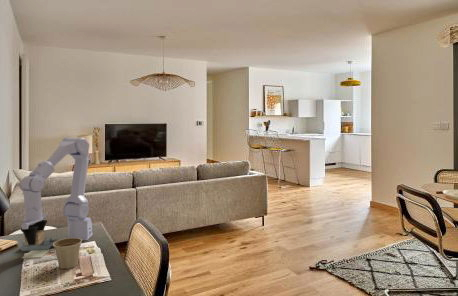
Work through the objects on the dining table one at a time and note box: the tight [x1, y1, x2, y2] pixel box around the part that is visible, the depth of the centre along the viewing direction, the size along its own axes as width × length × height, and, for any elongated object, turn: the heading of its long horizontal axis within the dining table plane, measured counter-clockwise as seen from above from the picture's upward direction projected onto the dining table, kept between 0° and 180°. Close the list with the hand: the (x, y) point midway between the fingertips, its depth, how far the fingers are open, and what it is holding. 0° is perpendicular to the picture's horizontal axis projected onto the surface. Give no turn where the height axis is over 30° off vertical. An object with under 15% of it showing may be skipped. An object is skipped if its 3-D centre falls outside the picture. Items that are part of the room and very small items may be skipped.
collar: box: [24, 229, 46, 245], centre depth 135 cm, size 5×5×4 cm
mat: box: [21, 249, 50, 259], centre depth 135 cm, size 7×7×1 cm
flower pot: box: [52, 237, 83, 270], centre depth 124 cm, size 9×9×9 cm
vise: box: [20, 236, 59, 252], centre depth 143 cm, size 13×7×7 cm, turn 93°
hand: (35, 242), depth 135 cm, fingers closed on collar, 5 cm apart
